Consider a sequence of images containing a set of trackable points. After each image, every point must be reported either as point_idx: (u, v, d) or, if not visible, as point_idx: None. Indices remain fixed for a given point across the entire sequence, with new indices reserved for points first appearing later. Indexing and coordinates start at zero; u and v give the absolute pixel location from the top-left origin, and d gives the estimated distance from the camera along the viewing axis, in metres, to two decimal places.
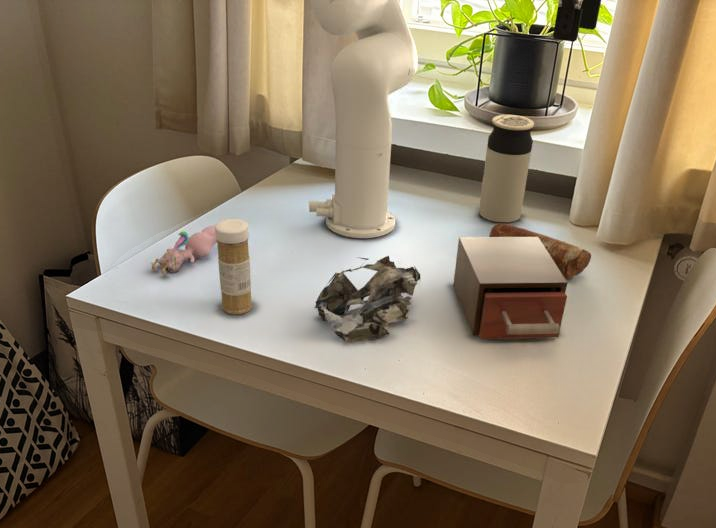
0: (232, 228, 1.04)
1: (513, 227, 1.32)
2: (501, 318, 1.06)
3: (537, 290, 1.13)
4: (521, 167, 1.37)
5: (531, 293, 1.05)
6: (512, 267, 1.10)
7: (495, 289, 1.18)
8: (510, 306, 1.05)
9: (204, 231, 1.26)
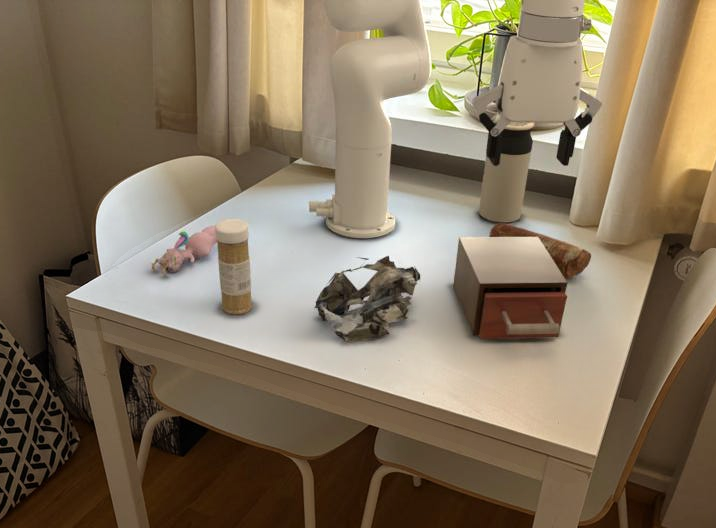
0: (232, 228, 1.04)
1: (513, 227, 1.32)
2: (501, 318, 1.06)
3: (537, 290, 1.13)
4: (521, 167, 1.37)
5: (531, 293, 1.05)
6: (512, 267, 1.10)
7: (495, 289, 1.18)
8: (510, 306, 1.05)
9: (204, 231, 1.26)
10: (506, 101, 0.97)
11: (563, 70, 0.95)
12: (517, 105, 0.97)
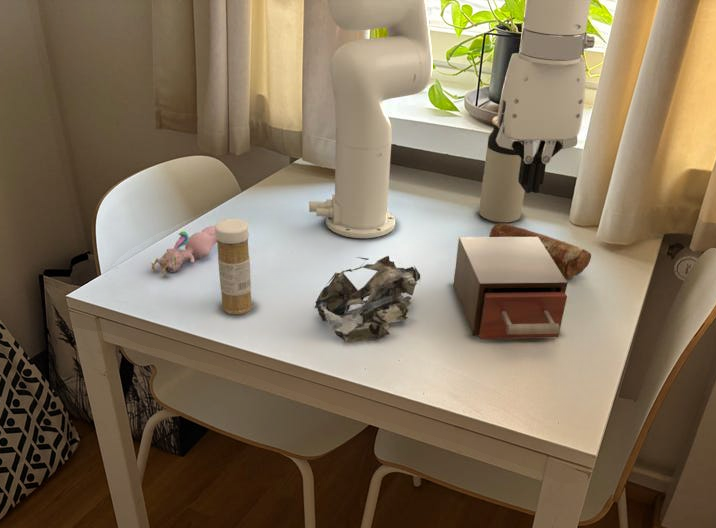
0: (232, 228, 1.04)
1: (513, 227, 1.32)
2: (501, 318, 1.06)
3: (537, 290, 1.13)
4: None
5: (531, 293, 1.05)
6: (512, 267, 1.10)
7: (495, 289, 1.18)
8: (510, 306, 1.05)
9: (204, 231, 1.26)
10: (508, 120, 0.96)
11: (566, 88, 0.94)
12: (519, 123, 0.96)
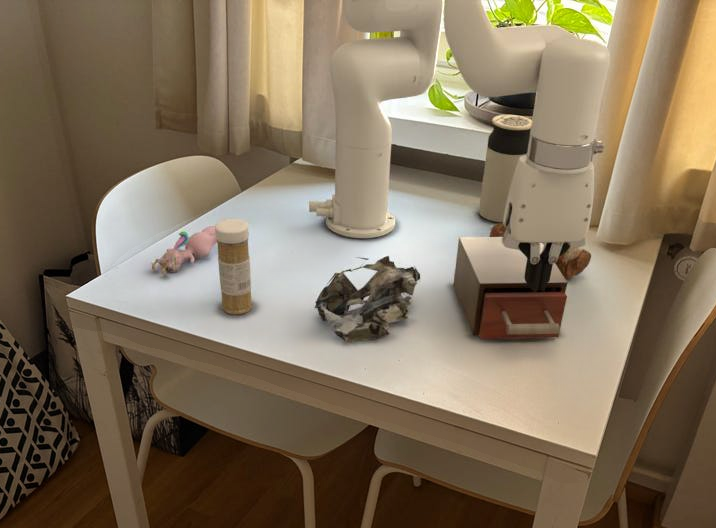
0: (232, 228, 1.04)
1: None
2: (501, 318, 1.06)
3: (537, 290, 1.13)
4: None
5: (531, 293, 1.05)
6: (512, 267, 1.10)
7: (495, 289, 1.18)
8: (510, 306, 1.05)
9: (204, 231, 1.26)
10: (514, 223, 0.94)
11: (574, 194, 0.92)
12: (526, 227, 0.94)
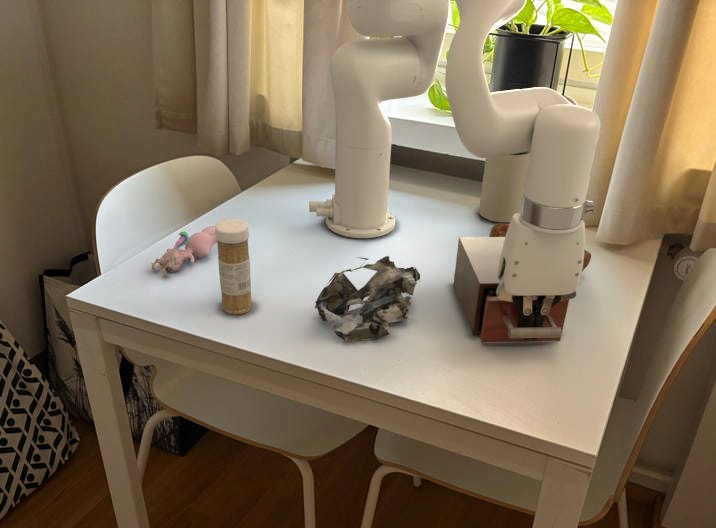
0: (232, 228, 1.04)
1: None
2: (503, 322, 1.05)
3: None
4: (521, 167, 1.37)
5: (533, 296, 1.05)
6: None
7: None
8: (512, 310, 1.04)
9: (204, 231, 1.26)
10: (508, 278, 0.97)
11: (565, 251, 0.95)
12: (519, 282, 0.97)
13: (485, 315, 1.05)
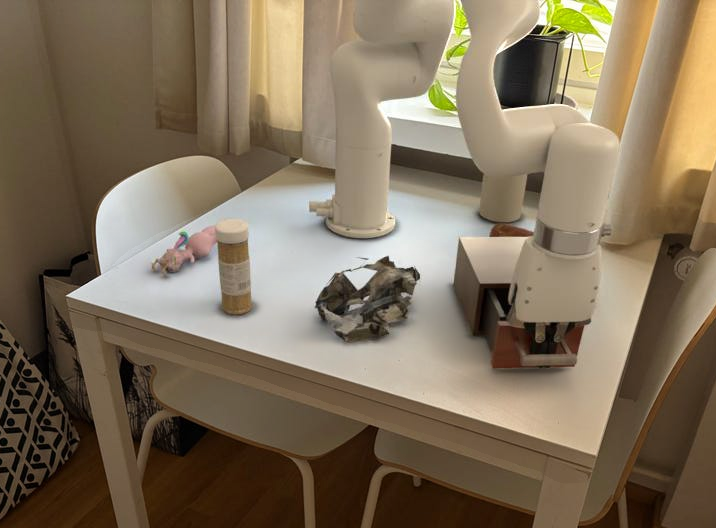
0: (232, 228, 1.04)
1: (513, 227, 1.32)
2: (514, 347, 1.00)
3: None
4: None
5: None
6: (512, 267, 1.10)
7: (507, 314, 1.12)
8: (524, 335, 0.99)
9: (204, 231, 1.26)
10: (520, 305, 0.92)
11: (581, 276, 0.90)
12: (531, 308, 0.92)
13: (496, 340, 1.00)
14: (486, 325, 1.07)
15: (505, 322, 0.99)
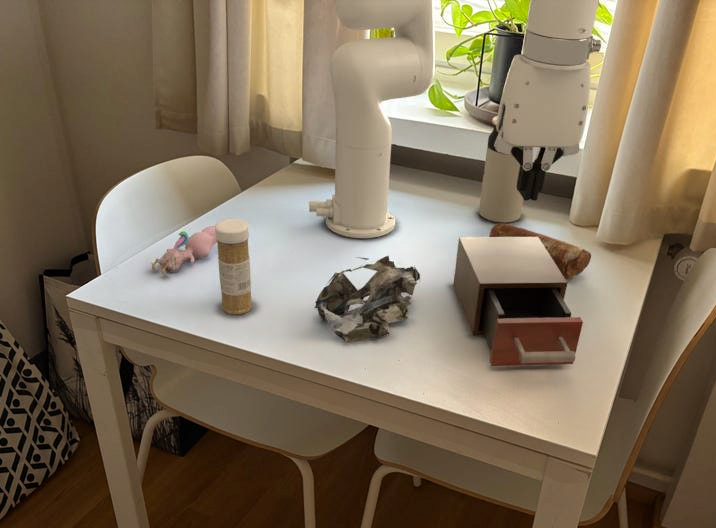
0: (232, 228, 1.04)
1: (513, 227, 1.32)
2: (513, 345, 1.01)
3: (550, 313, 1.08)
4: None
5: (545, 318, 1.00)
6: (512, 267, 1.10)
7: (506, 311, 1.12)
8: (523, 332, 1.00)
9: (204, 231, 1.26)
10: (507, 125, 0.91)
11: (569, 94, 0.89)
12: (519, 129, 0.92)
13: (495, 338, 1.00)
14: (485, 323, 1.08)
15: (504, 319, 0.99)
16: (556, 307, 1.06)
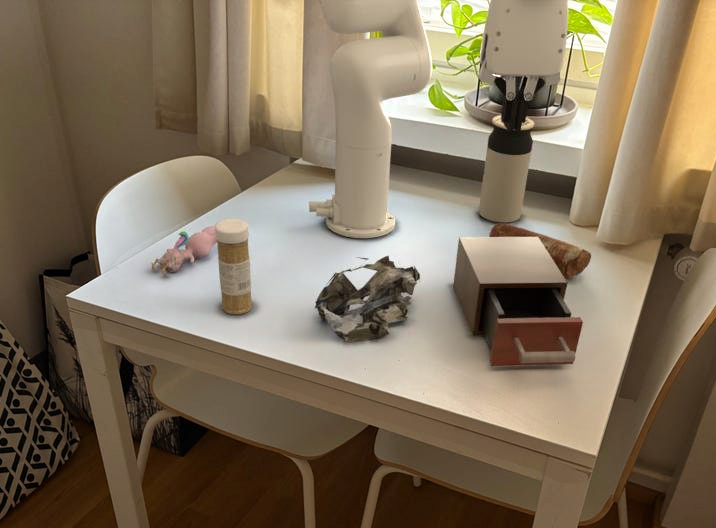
0: (232, 228, 1.04)
1: (513, 227, 1.32)
2: (513, 345, 1.01)
3: (550, 313, 1.08)
4: (521, 167, 1.37)
5: (545, 318, 1.00)
6: (512, 267, 1.10)
7: (506, 311, 1.12)
8: (523, 332, 1.00)
9: (204, 231, 1.26)
10: (490, 53, 0.95)
11: (548, 21, 0.93)
12: (501, 57, 0.96)
13: (495, 338, 1.00)
14: (485, 323, 1.08)
15: (504, 319, 0.99)
16: (556, 307, 1.06)
